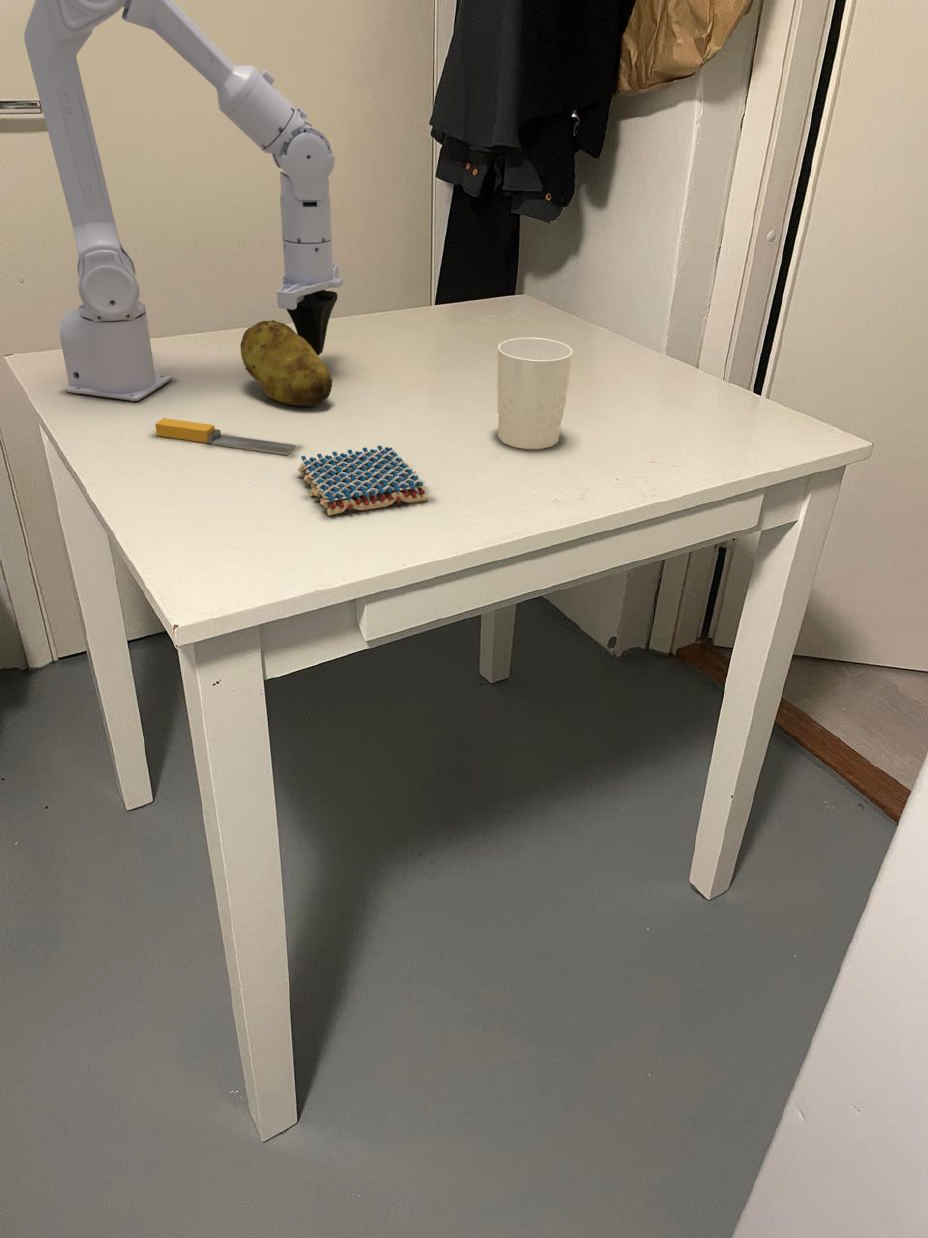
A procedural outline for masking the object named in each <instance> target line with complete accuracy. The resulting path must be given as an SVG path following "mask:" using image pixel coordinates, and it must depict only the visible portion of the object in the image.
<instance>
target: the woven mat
mask: <svg viewBox="0 0 928 1238" xmlns="http://www.w3.org/2000/svg"><path fill="white" fill-rule="evenodd" d="M376 447H377V449H374V448H371V449H368V448H367V447H365V446H364V447H362V451H359V450H356V451H355V452H353V450H352V449H346V450H347V453H348V454H347V453H344V452H340V454H339V455H338V452H337V451H332V452H331V453H332V455H329V454H327V455H324V457H323V454H322V453H317V454H316V456H317V458H318V459H317V458H316V457H309V460H308V459H307V457H306V455H301V456H300V457H301V460H302V462H301V463H300V466H299V467H298V468H297V471H298V472H299V473H300V474H302V475H304V476H303V480H304V481H305V483H307V484H309V485H310V487H311V488H310V490H309V491H310V493H309V494H310V496H311V497H313V496H315V497H317V498H319V499H320V502H319V504H320V505H321V506H322V507H323V508H324V509H326V513H327V516H333V515H338V514H341V513H344V511H346V510H358V511H368V510H373V509H380V508H386V507H388V506H390V505H392V504H394V503H400V502H403V503H408V504H413V503H419V502H426V501H429V499H430V496H429V493H428V492H426V491H425V490H426V488H427V486H426V484H427V483H426V481H425V480H422V478H419V474H417V470H414V471H413V469H414V468H411V467H410V466H409V464H408V463H407V462H406V461H405V460H403V458H402V457H401V456H399V454H398V453H397V451H396V450H395V449H393V447H389V446H386V447H384V448H383V446H382V445H377V446H376ZM363 452H364V453H363ZM424 484H425V485H424Z"/></svg>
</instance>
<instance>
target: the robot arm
mask: <svg viewBox="0 0 928 1238" xmlns="http://www.w3.org/2000/svg"><path fill="white" fill-rule="evenodd" d="M122 8H124V9H123V11H122V14H121V19H122V20H124V21H125V22H127V23H130V24H133V25H136V26H139V27H142V28H145V29H148V30H151V31H153V32H154V33H156V34H157V35H158V36H159V37H160V38H161V39H162V40H163V41H164V42H165V43H166V44H167V45H168V46H169V47H171V49H173V51H175V52H176V53H177V54H178V55H179V56H180V57H182V59H184V60H185V61H186V63H188V64H189V65H190V66H191V67H192V68H193V69H195V70H196V71H197V72H198V73H199V74H200V75H201V76H202V77H203V78H204V79H205V80H206V81H207V82H208V83H210V84H211V85H212V86H213V87H214V88H215V90H216V93H217V102H218V108H219V110H220V112H222V114H224V115H225V116H226V117H227V118H228V119H229V120H230V121H231V122H232V123H233V124H234V125H235V126H236V127H237V128H238V129H239V130H240V131H241V132H242V133H244V134H245V135H246V137H248V138H249V139H250V140H251V141H252V142H253V143H254V144H255V145H256V146H257V147H258V148H259V149H260V150H261V151H262V152H264V153H265V154H271V156H272V159H273V161H274V164H275V165H276V167H277V168H280V169H281V170H283V171H280V172H279V181H280V196H279V205H280V220H281V237H282V253H283V267H284V275H283V277H282V281H281V286H280V288H279V289H278V290H276V297H277V308H278V309H285V311H287V313H288V315H289V317H290V318H291V319H290V320H291V321H292V323H293V325H294V328H295V330H296V334H298V335H299V336H300V337H302V338H303V339H305V340H306V341H307V342H308V343H310V345H312V348H313V350H314V351H315V353H316V354H317V355H318V356H320V355H321V354H322V353H323V351H324V347H325V341H326V338H327V337H326V335H327V331H328V324H329V322H330V321H329V320H330V317H331V314H332V311H333V309H334V306H335V305H336V303H337V300H338V292H337V291H332V290H328V289H330V288H332V289H333V288H334V289H338V288H340V287H342V286H343V284H344V283H343V279H342V278H340V275H339V274H340V273H339V264H335V263H334V262H333V242H332V241H333V240H332V239H333V236H332V235H333V233H332V209H331V208H332V207H331V196H330V182H329V177H330V175H331V174H332V172H333V169H334V167H335V162H336V156H335V155H334V154H333V150H332V148H331V144H330V142H329V140H328V139H327V137H326V136H325V135H324V133H322V132H321V131H320V130H317V129H316V128H314V127H313V124H311V123H310V122H308V121H306V119H307V118H308V113H307V112H306V111H305V110H304V109H303V108H302V107H298V108H296V107H295V106H294V105H293V104H292V103H291V102H290V101H289V100H288V99H287V98H286V97H285V96H284V95H283V94H282V93H281V92H280V91H279V90H278V89H277V88H276V87H275V86H274V85H273V83H274V82H275V78H274V77H273V76H272V75H271V74H270V73H269V71H267V70H265V69H263V70H261V71H259V70H258V69H257V68H256V66H254V65H251V64H246V65H235V64H234V63H233V62H232V61H231V60H230V58H228V56H226V54H224V53H223V51H222V50H221V49H220V48H219V47H218V46H217V45H216V44H215V43H214V42H213V41H212V40H211V39H210V37H208V36H207V34H206V33H205V32H204V31H203V30H202V29H201V28H200V27H199V26H198V25H197V24H196V23H195V22H194V20H192V19H191V18H190V17H189V16H188V14H186V12H184V11H183V10H182V8H181V7H180V6H179V5H178V4H177V3H176V2H175V1H174V0H34V2H33V6H32V9H31V11H30V14H29V16H28V19H27V22H26V25H25V28H24V31H23V37H24V44H25V49H26V53H27V56H28V60H29V63H30V68H31V72H32V75H33V79H34V83H35V88H36V91H37V95H38V98H39V99H38V100H39V103H40V107H41V110H42V114H43V119H44V121H45V125H46V130H47V133H48V138H49V141H50V145H51V149H52V151H53V156H54V161H55V164H56V168H57V172H58V175H59V179H60V184H61V187H62V191H63V195H64V199H65V203H66V207H67V210H68V215H69V218H70V222H71V225H72V226H71V227H72V229H73V234H74V239H75V245H76V249H77V253H78V261H77V275H78V283H77V289H78V290H77V291H78V295H79V298H80V300H81V302H82V303H81V304H80V305H79V306H78V307H73V308H71V309H69V310H67V311H66V312H65V314H64V315H63V316H62V319H61V323H60V327H59V338H60V344H61V350H62V355H63V359H64V365H65V370H66V375H67V381H68V384H69V385H67V386H65V392H67V393H72V394H73V393H75V394H81V395H87V396H88V395H89V396H96V397H102V398H103V397H105V398H110V399H117V400H125V401H133V402H137V401H140V400H142V399H143V398H145V397H146V396H148V395H149V394H151V393H153V392H154V391H156V390H157V389H159V388H161V387H162V386H164V385H165V384H167V383H168V382H170V381H171V376H169V375H166V374H165V375H164V374H156V372H155V365H154V359H153V352H152V343H151V338H150V337H151V336H150V331H149V330H150V329H149V324H148V317H147V316H148V315H147V311H146V309H147V308H146V305H145V304H144V303H142V301H140V296H141V292H140V291H141V289H140V285H139V284H140V283H139V282H138V279H137V277H136V267H135V264H134V262H133V259H132V258H131V256H130V255H129V254H128V252H127V251H126V250H125V249H124V247H123V245H122V243H121V239H120V237H119V232H118V228H117V225H116V221H115V215H114V211H113V208H112V207H113V206H112V204H111V203H112V202H111V199H110V195H109V190H108V186H107V182H106V179H105V173H104V169H103V165H102V160H101V156H100V152H99V147H98V143H97V139H96V135H95V132H94V128H93V123H92V118H91V114H90V110H89V106H88V101H87V98H86V94H85V89H84V84H83V81H82V76H81V71H80V68H79V62H78V59H77V56H78V54H79V53H80V51H81V50H82V48H83V46H84V45H85V43H86V42H87V41H88V40H89V38H90V37H91V35H92V34H93V30H94V29H95V28H96V27H98V26H99V25H101V24H102V23H104V22H106V21H107V20H109V19H110V18H112V17H113V16H114V15H116V14H117V13H118V12H119V11H120V10H121V9H122ZM333 263H334V264H333Z"/></svg>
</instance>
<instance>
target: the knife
mask: <svg viewBox="0 0 928 1238" xmlns="http://www.w3.org/2000/svg"><path fill="white" fill-rule="evenodd" d="M155 431H156V436H157V437H164V438H170V439H171V438H172V439H178V440H185V441H191V442H199V443H205V444H209V445H212V446H219V447H226V448H233V449H240V450H246V451H254V452H260V453H261V452H262V453H268V454H273V455H281V456H288V455H289V454H290V453H291V452H293V450H295V449H296V445H295V444H292V443H291V444H290V443H283V442H276V441H268V440H261V439H255V438H247V437H241V436H235V435H234V436H233V435H226V434H221V429H217V428H215V424H209V423H203V422H195V421H188V420H180V419H173V418H166V417H163V418H161V419H160V420H159V421H157V422H156V423H155Z"/></svg>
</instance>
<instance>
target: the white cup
mask: <svg viewBox="0 0 928 1238" xmlns="http://www.w3.org/2000/svg"><path fill="white" fill-rule="evenodd" d="M573 353H574V350H573V348H572V347H571V346H569V345H568V344H566V343H564V342H562V341H558V340H554V339H550V338H542V337H515V338H511V339H506V340H504V341H502V342H500V343H499V344H498V345H497V375H496V376H497V378H496V380H497V381H496V388H497V389H496V390H497V399H496V400H497V401H496V402H497V403H496V404H497V414H498V415H497V416H498V419H497V421H498V422H497V423H498V424H497V425H498V426H497V437H498V439H499V440H500V441H501V442H502V443H503V444H505V445H507V446H511V447H513V448H518V449H523V450H542V449H547V448H551V447H553V446H554V445H556V444H558V442H559V439H560V432H561V424H562V419H563V418H564V411H565V409H566V408H565V407H566V402H567V396H568V389H569V382H570V375H571V369H572V361H573Z"/></svg>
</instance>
